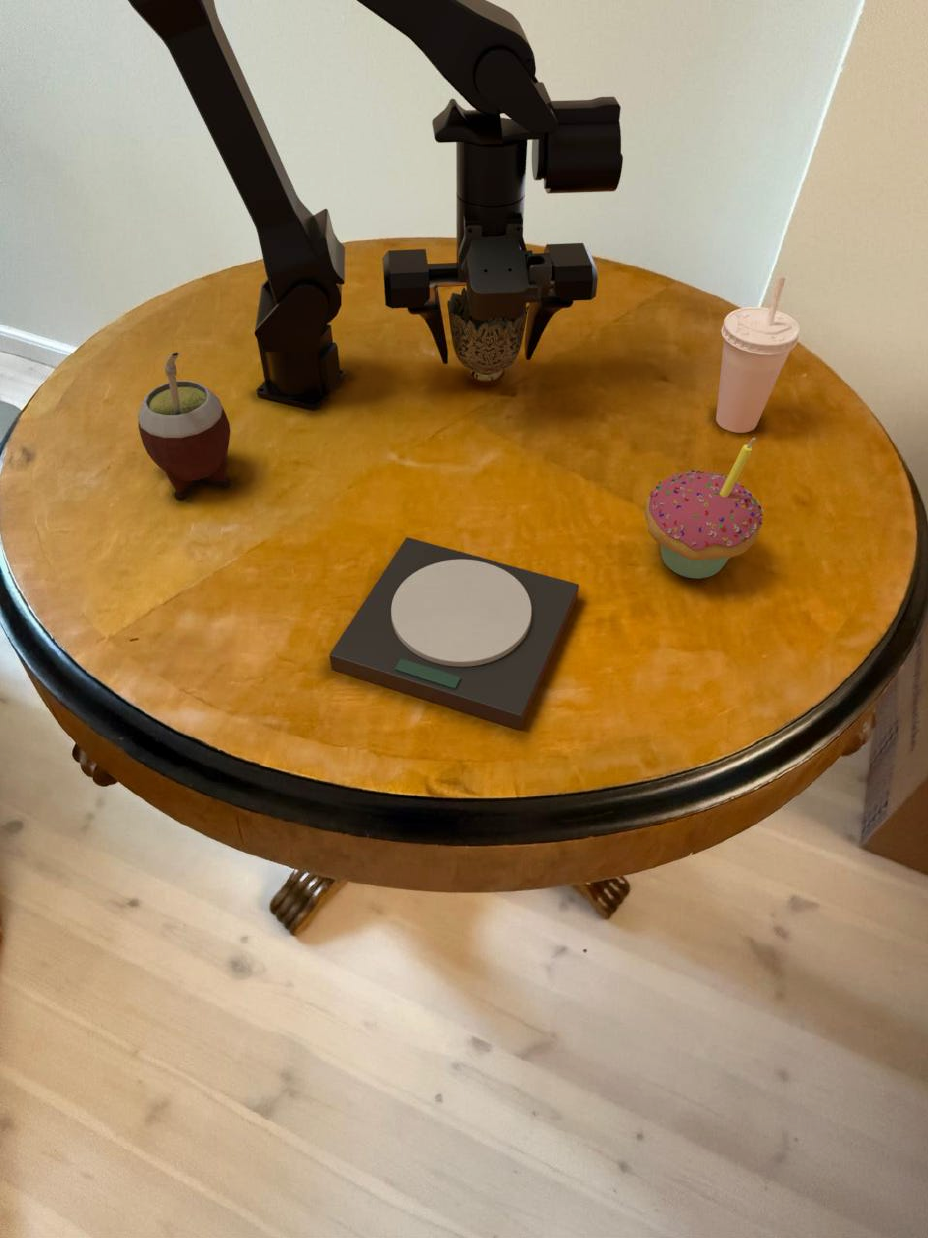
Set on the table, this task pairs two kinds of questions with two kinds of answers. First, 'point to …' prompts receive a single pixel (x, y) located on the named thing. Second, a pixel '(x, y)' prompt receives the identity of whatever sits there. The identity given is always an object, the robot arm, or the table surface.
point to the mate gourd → (186, 433)
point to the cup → (484, 341)
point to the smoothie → (752, 361)
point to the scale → (458, 631)
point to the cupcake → (703, 519)
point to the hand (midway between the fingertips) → (486, 359)
